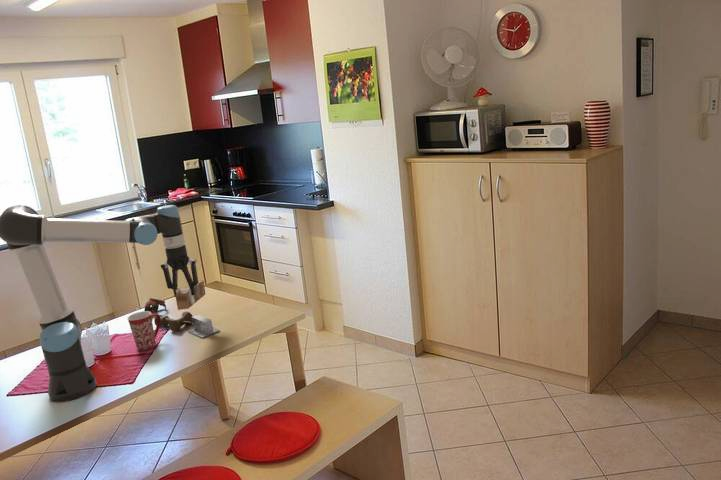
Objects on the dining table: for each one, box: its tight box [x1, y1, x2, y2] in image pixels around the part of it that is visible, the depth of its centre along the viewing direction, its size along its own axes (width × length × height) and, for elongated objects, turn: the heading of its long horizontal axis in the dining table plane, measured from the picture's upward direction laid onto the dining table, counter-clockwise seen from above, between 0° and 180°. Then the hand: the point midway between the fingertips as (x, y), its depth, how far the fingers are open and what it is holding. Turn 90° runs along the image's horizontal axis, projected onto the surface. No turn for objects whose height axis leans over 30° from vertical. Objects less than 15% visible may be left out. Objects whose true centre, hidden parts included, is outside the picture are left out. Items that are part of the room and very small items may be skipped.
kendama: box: [153, 311, 194, 333], centre depth 253 cm, size 6×10×20 cm
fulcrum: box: [187, 314, 221, 339], centre depth 243 cm, size 8×12×6 cm, turn 44°
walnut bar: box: [174, 280, 206, 311], centre depth 236 cm, size 24×4×6 cm, turn 0°
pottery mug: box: [143, 297, 167, 315], centre depth 273 cm, size 12×10×8 cm
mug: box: [126, 310, 161, 351], centre depth 236 cm, size 13×9×14 cm
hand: (186, 303), depth 229 cm, fingers closed on walnut bar, 4 cm apart
